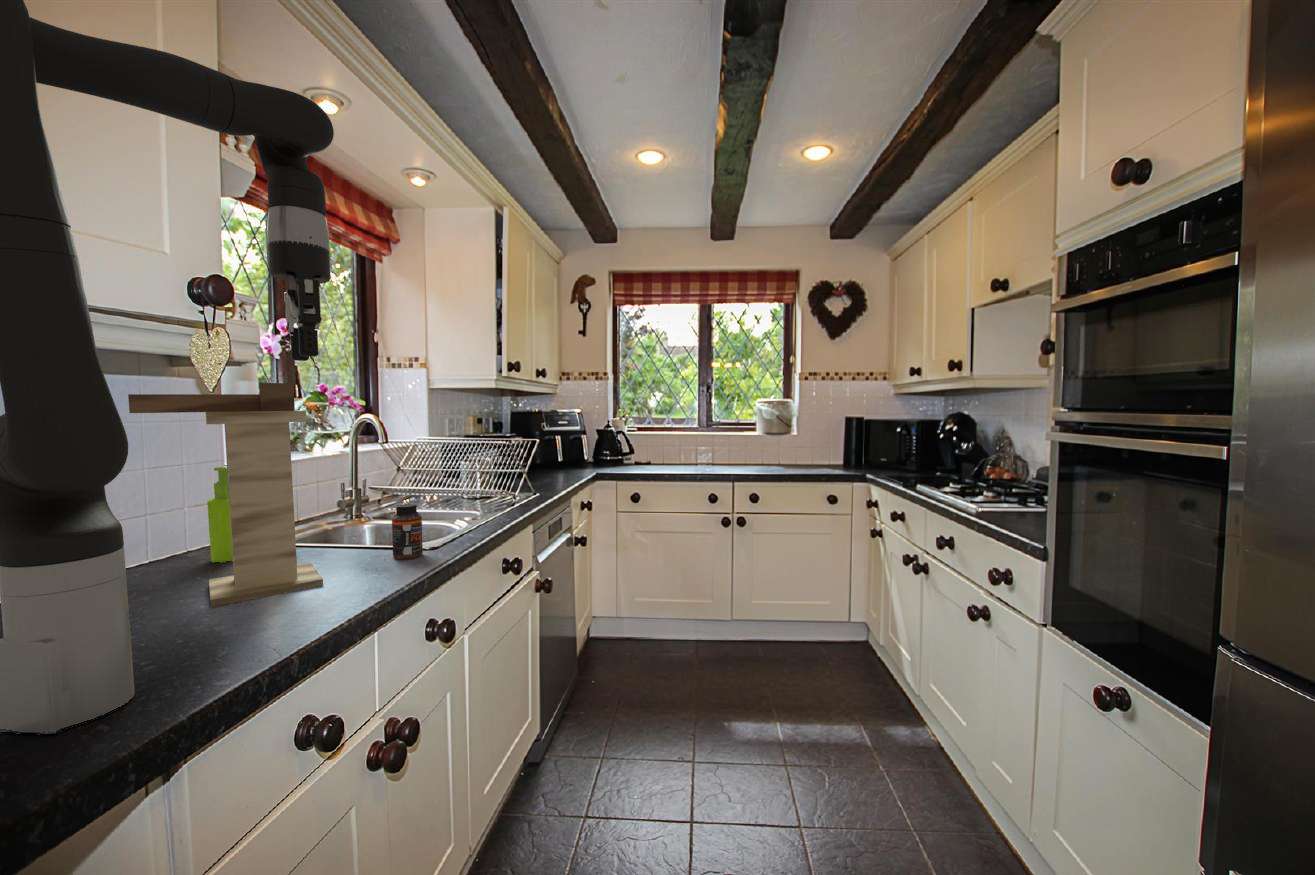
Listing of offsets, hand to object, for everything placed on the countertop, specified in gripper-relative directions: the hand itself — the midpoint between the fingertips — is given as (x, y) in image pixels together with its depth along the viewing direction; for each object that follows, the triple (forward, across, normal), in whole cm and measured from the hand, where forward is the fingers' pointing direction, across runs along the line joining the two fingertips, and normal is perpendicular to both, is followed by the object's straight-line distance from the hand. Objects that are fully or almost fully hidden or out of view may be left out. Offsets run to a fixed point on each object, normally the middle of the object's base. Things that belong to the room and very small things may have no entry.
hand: (304, 358), depth 81 cm
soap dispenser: (+40, +54, +8) cm, 67 cm away
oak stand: (+40, +27, +4) cm, 48 cm away
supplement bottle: (+40, +30, -21) cm, 54 cm away
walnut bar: (+8, +27, +10) cm, 29 cm away
